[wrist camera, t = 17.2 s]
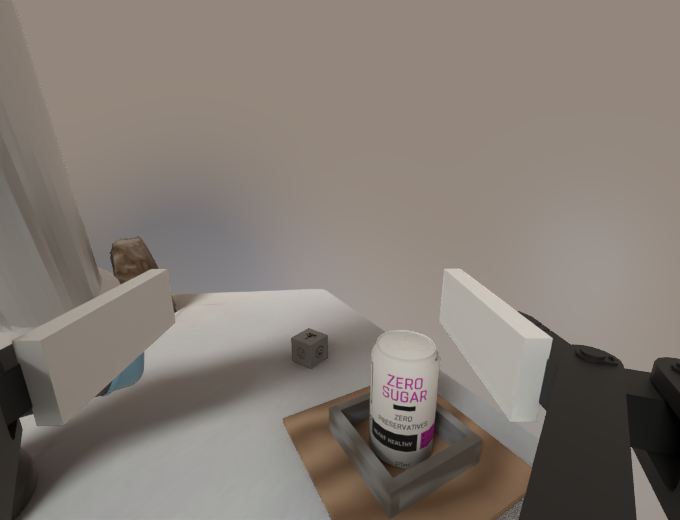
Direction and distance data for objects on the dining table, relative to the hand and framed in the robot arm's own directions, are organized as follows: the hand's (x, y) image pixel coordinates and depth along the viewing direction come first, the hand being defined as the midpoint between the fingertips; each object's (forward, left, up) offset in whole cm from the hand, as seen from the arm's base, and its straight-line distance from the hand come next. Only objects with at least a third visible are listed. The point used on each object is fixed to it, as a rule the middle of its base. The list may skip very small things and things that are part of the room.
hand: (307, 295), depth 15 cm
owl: (-79, -12, -30) cm, 85 cm away
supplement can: (-13, +18, -29) cm, 37 cm away
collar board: (-13, +18, -30) cm, 38 cm away
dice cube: (-38, +17, -30) cm, 51 cm away
